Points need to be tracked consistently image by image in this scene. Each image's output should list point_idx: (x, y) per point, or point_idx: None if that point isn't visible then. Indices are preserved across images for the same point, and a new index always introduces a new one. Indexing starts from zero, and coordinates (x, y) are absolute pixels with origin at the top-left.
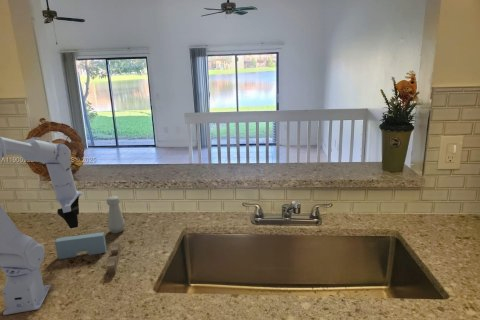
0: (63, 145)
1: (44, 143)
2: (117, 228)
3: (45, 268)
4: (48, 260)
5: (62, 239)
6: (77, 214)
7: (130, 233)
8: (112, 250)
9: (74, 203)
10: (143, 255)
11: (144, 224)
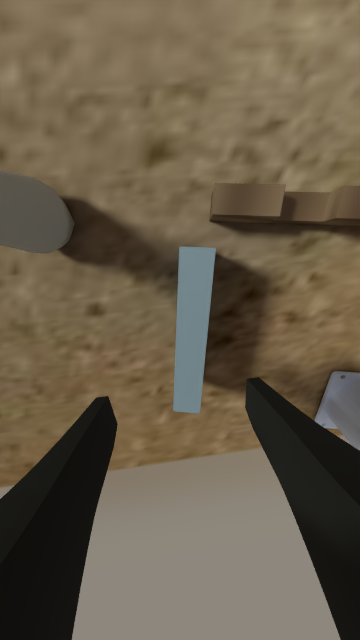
0: None
1: None
2: (66, 211)
3: (233, 392)
4: None
5: (189, 395)
6: (110, 403)
7: (84, 162)
8: (279, 209)
9: (65, 508)
10: (298, 80)
11: (4, 91)
